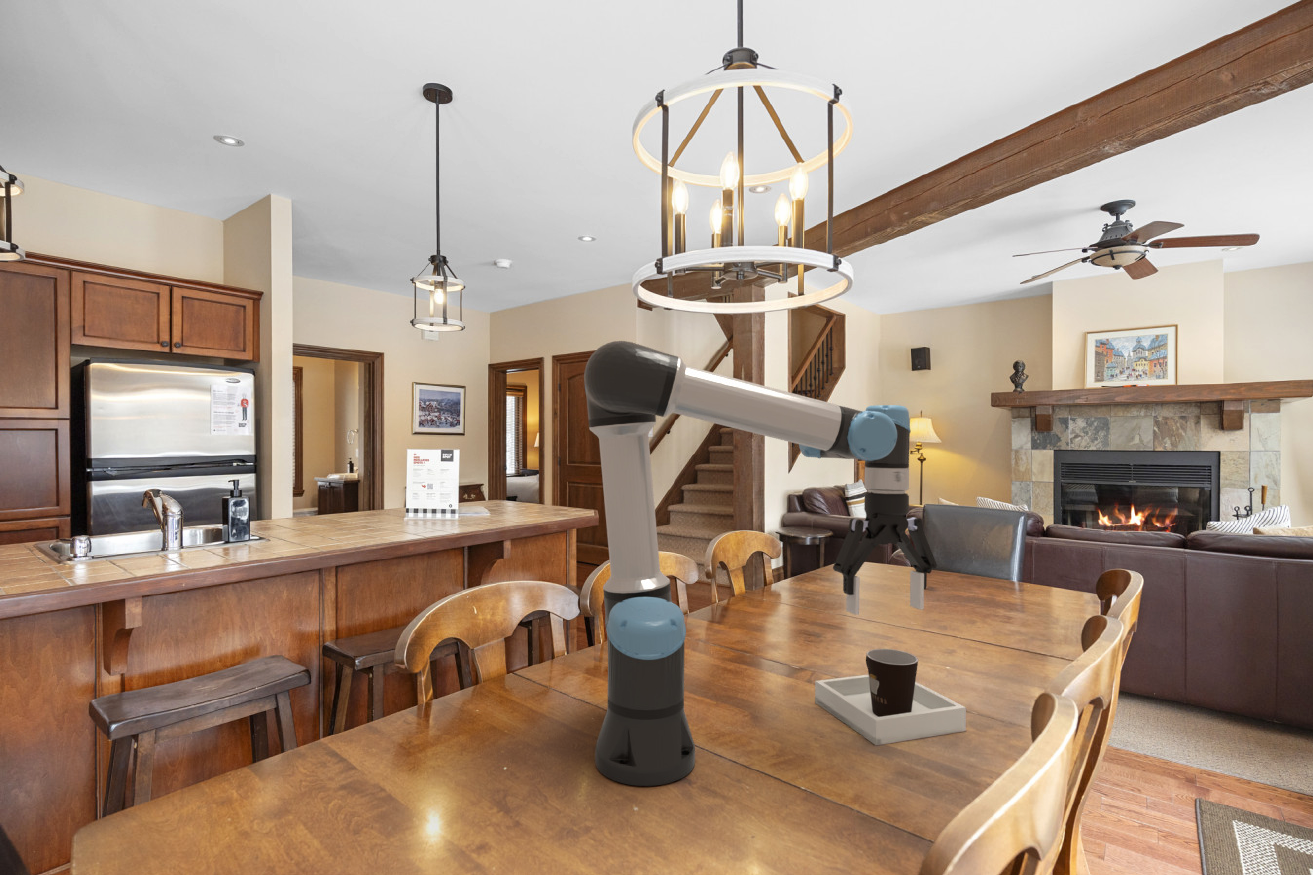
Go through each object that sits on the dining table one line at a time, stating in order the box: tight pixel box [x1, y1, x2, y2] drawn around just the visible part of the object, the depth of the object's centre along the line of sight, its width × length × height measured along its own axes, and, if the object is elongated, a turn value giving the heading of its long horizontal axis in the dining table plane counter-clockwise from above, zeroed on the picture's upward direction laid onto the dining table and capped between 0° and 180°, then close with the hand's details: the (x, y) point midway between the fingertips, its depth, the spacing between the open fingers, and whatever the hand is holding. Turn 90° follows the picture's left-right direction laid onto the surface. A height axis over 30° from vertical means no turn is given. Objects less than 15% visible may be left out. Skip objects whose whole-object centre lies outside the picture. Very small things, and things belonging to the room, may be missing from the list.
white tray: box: [814, 674, 967, 746], centre depth 115 cm, size 18×18×4 cm
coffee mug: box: [865, 648, 919, 717], centre depth 115 cm, size 12×9×10 cm
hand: (885, 610), depth 115 cm, fingers open, 13 cm apart
